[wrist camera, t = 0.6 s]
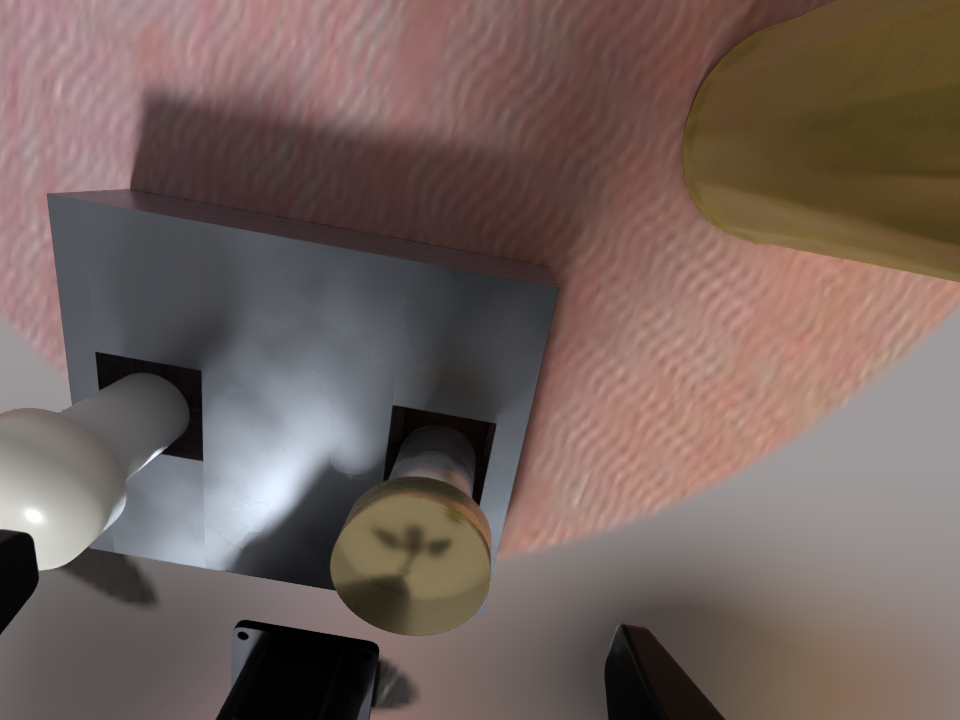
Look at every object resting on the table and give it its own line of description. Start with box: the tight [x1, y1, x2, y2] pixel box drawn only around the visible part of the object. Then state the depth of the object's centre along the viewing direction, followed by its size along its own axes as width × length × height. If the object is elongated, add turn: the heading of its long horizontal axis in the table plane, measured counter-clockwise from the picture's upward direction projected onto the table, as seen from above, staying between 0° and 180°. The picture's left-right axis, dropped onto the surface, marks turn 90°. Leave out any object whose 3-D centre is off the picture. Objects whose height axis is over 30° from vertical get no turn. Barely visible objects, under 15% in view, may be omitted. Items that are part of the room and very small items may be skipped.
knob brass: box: [330, 425, 492, 636], centre depth 14 cm, size 4×4×5 cm
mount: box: [47, 189, 559, 616], centre depth 18 cm, size 12×14×3 cm
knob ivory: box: [0, 373, 190, 570], centre depth 14 cm, size 4×4×5 cm
